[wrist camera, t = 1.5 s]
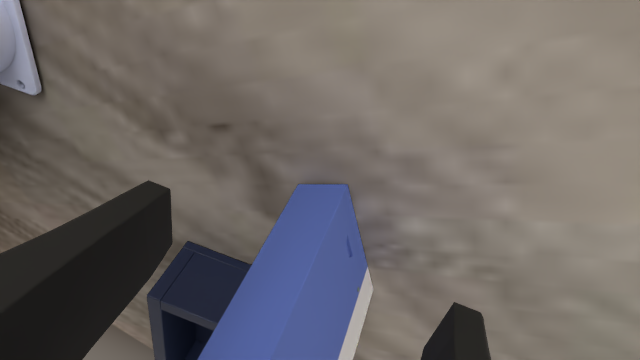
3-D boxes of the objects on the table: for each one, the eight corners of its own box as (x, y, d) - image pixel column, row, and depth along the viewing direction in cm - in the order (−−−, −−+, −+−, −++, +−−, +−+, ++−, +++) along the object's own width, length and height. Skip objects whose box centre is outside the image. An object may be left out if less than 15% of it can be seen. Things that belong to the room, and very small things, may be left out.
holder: (189, 334, 38) (157, 386, 34) (187, 240, 30) (145, 295, 27) (266, 366, 37) (241, 422, 34) (284, 277, 29) (254, 339, 26)
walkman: (297, 183, 24) (171, 401, 15) (348, 183, 23) (244, 418, 14) (329, 286, 28) (246, 504, 19) (374, 290, 27) (306, 522, 18)
